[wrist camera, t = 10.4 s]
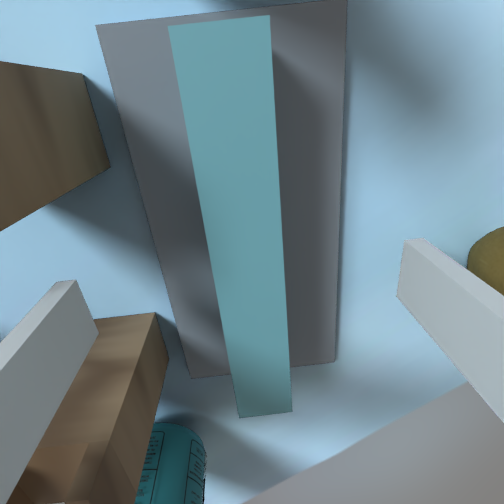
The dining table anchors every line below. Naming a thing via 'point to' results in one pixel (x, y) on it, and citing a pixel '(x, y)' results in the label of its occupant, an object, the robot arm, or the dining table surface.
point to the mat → (289, 166)
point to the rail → (239, 197)
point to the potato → (489, 259)
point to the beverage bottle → (172, 467)
